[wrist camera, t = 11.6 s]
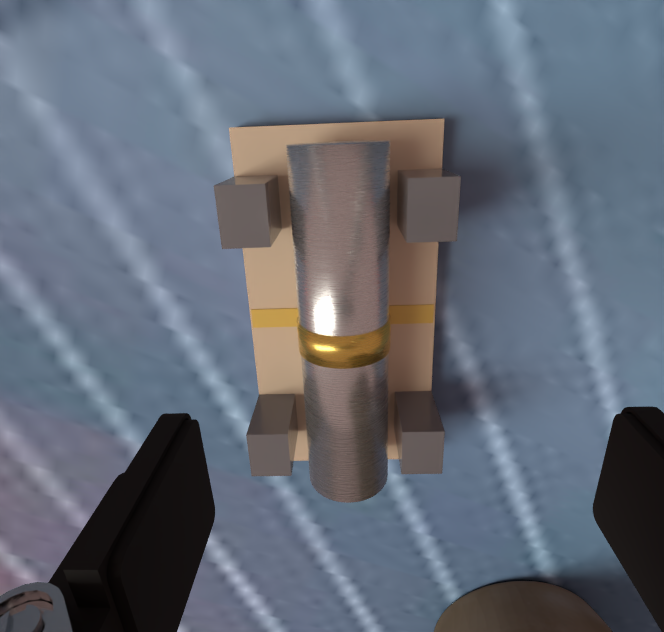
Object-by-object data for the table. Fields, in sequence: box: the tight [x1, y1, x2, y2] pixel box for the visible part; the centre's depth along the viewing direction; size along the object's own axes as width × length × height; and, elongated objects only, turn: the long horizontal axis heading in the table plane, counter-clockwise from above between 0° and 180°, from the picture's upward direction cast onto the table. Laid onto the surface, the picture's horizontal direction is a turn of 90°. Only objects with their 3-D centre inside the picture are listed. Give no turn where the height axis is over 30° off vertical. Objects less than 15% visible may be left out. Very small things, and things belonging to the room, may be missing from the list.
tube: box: [286, 140, 391, 502], centre depth 26 cm, size 20×5×5 cm, turn 2°
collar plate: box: [214, 119, 461, 476], centre depth 27 cm, size 11×22×6 cm, turn 2°
